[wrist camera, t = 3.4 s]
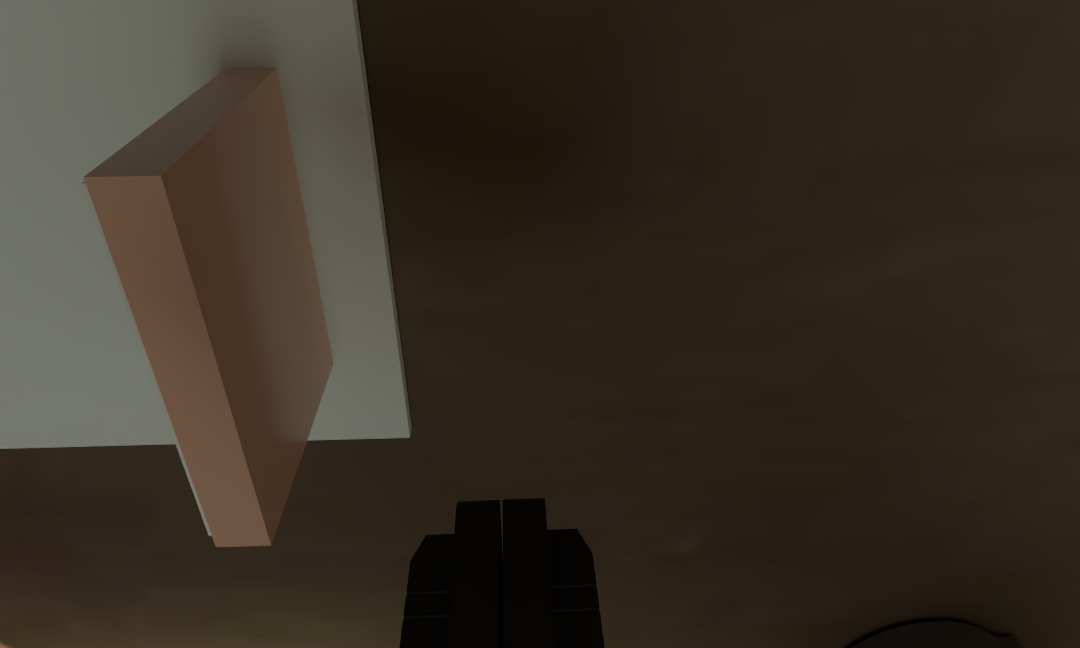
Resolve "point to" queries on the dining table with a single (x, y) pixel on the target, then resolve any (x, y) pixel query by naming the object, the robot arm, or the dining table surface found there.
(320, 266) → the mat
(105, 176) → the tile
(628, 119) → the dining table surface
